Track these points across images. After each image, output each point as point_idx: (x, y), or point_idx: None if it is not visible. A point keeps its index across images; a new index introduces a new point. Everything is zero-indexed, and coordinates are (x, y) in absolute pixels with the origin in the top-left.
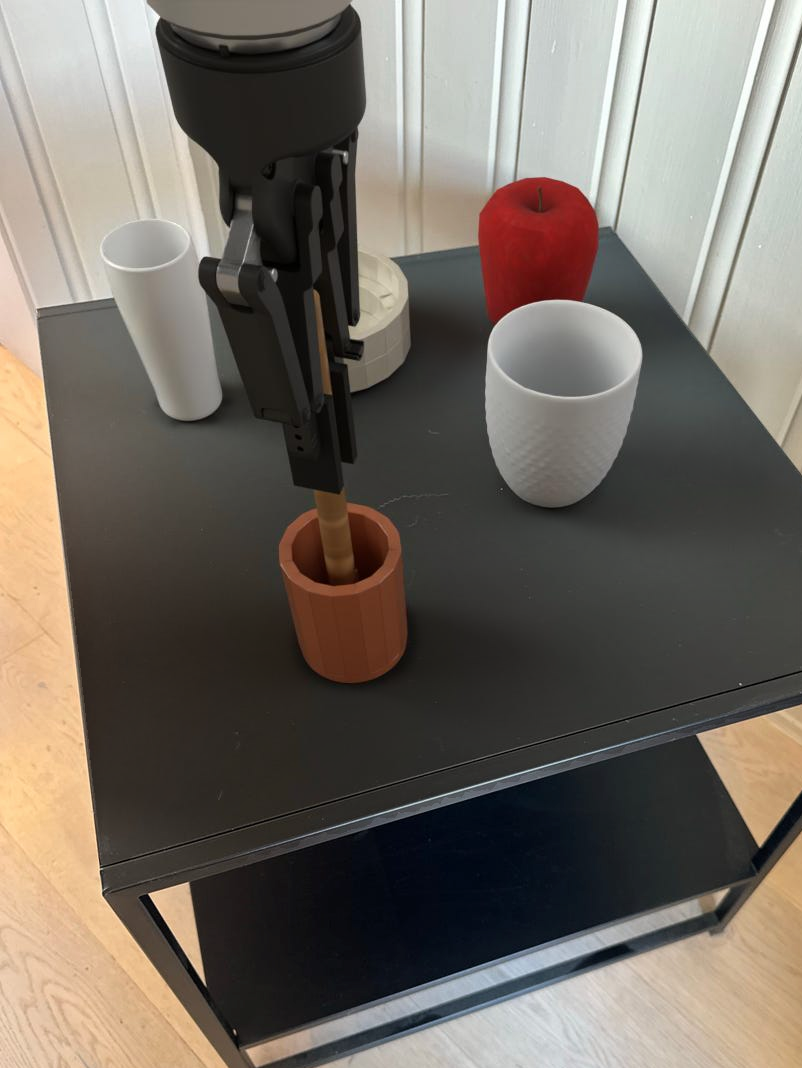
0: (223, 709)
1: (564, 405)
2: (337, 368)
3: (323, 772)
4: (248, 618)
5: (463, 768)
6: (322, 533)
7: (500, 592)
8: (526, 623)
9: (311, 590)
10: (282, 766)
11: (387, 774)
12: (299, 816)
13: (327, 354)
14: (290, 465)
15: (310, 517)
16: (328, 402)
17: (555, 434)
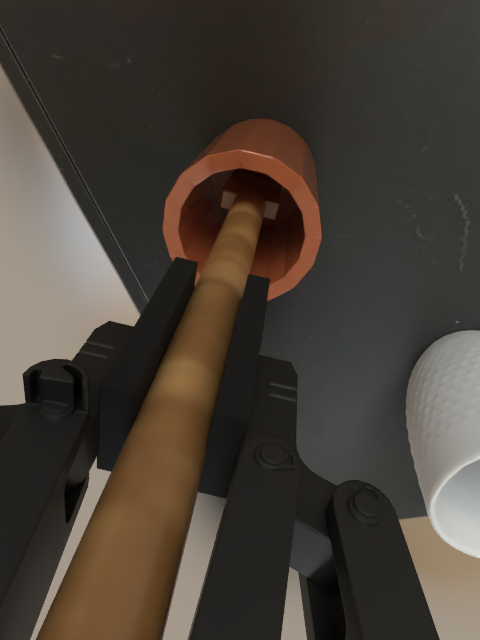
0: (155, 36)
1: (428, 490)
2: (212, 483)
3: (105, 164)
4: (285, 41)
5: (133, 282)
6: (220, 233)
7: (316, 315)
8: (280, 333)
9: (166, 205)
10: (102, 121)
11: (115, 222)
12: (58, 146)
13: (229, 487)
14: (162, 279)
15: (294, 189)
16: (104, 468)
17: (420, 450)
